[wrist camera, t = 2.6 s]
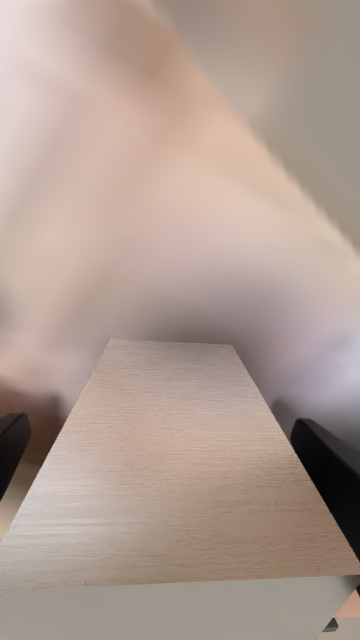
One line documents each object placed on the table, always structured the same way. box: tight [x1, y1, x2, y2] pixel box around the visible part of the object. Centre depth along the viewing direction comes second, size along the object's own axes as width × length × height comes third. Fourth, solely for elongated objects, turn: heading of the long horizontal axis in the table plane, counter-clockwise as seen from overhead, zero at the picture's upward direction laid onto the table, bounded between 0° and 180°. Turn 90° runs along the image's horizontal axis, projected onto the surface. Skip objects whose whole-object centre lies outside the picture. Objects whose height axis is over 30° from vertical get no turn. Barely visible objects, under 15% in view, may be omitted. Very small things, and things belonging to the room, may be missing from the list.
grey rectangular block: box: [0, 339, 360, 640], centre depth 6 cm, size 4×4×6 cm
